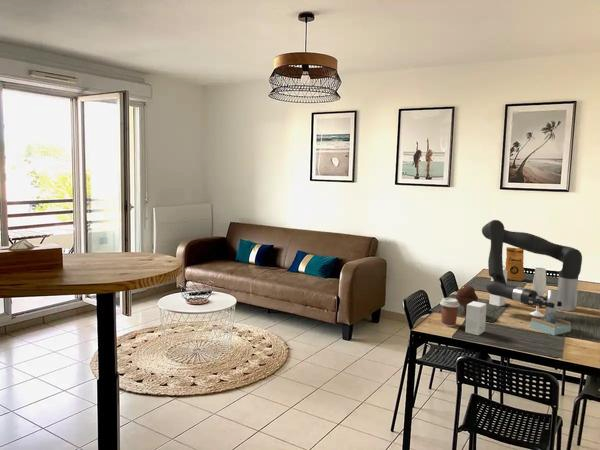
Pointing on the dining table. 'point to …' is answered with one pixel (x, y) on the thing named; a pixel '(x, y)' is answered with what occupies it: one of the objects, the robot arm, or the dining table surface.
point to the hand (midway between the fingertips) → (557, 305)
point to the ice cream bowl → (466, 297)
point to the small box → (475, 318)
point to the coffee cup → (449, 311)
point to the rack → (551, 326)
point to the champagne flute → (539, 286)
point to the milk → (498, 299)
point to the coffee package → (514, 264)
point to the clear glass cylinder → (551, 312)
